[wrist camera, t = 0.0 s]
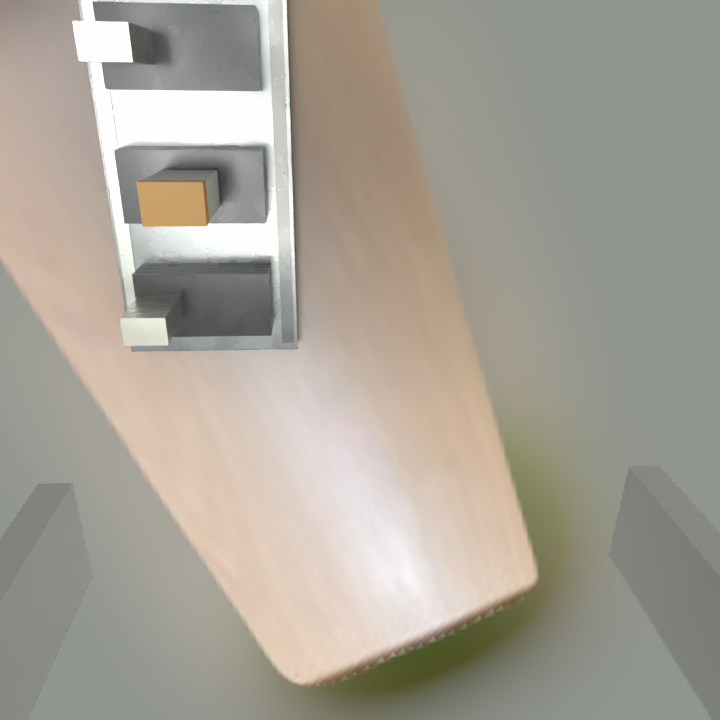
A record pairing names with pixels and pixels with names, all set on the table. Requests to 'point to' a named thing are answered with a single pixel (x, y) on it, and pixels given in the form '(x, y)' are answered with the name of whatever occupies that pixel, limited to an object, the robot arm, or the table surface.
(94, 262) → the table surface
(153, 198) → the handle
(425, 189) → the table surface
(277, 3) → the panel
